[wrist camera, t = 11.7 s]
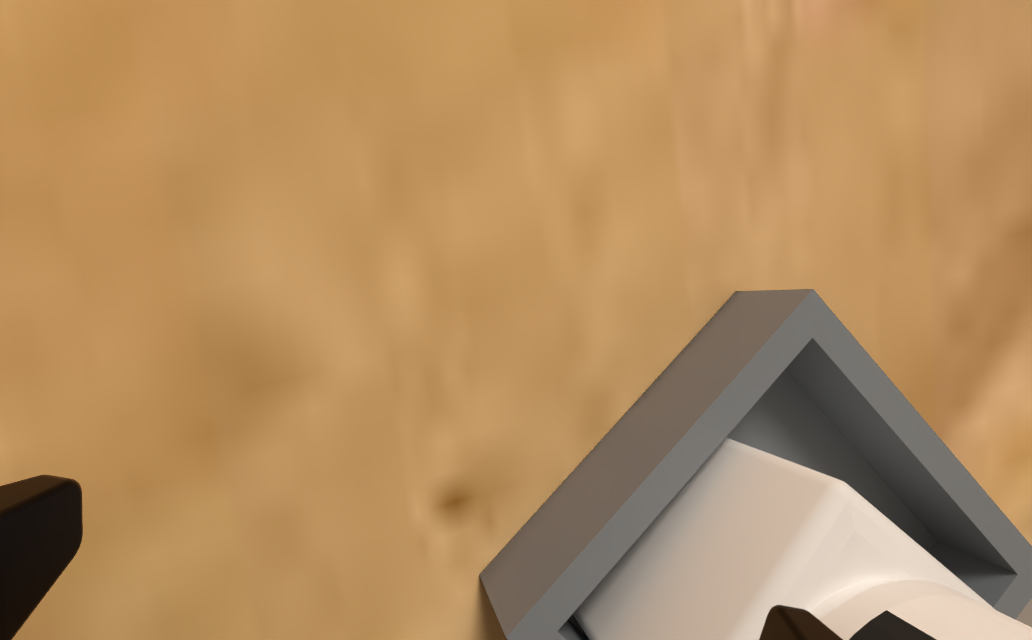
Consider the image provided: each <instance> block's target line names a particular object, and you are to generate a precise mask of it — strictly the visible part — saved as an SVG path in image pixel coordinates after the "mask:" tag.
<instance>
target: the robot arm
mask: <svg viewBox="0 0 1032 640" xmlns="http://www.w3.org/2000/svg"><path fill="white" fill-rule="evenodd" d="M82 535H83V525H82V490H81V486H80V484H79V483H78V482H77V481H75V480H73V479H69V478H63V477H57V476H52V475H40V476H36V477H32V478H29V479H25V480H21V481H18V482H14V483H10V484H7V485H3V486H0V640H12V638H13V637H14V636H15V634H16V633H17V632H18V631H19V629H20V628H21V627H22V625H23V624H24V623H25V621H26V620H27V619H28V617H29V616H30V615H31V613H32V612H33V611H34V609H35V608H36V607H37V605H38V604H39V603H40V601H41V600H42V599H43V597H44V596H45V595H46V593H47V592H48V591H49V589H50V588H51V587H52V585H53V584H54V583H55V581H56V580H57V579H58V577H59V576H60V575H61V574H62V572H63V571H64V570H65V568H66V567H67V566H68V564H69V563H70V562H71V560H72V559H73V558H74V556H75V555H76V553H77V551H78V549H79V547H80V544H81V541H82ZM759 640H843V639H842V638H840V637H839V636H838V635H837V634H836V633H834V632H833V631H832V630H831V629H829V628H828V627H827V626H826V625H825V624H823V623H822V622H821V621H820V620H819V619H817V618H816V617H815V616H814V615H812V614H811V613H810V612H809V611H807V610H804V609H801V608H795V607H789V606H783V605H775V606H773V607H772V608H771V609H770V610H769V613H768V615H767V617H766V620H765V623H764V626H763V629H762V632H761V635H760V638H759Z"/></svg>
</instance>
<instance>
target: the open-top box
mask: <svg viewBox="0 0 1032 640" xmlns="http://www.w3.org/2000/svg"><path fill="white" fill-rule="evenodd" d="M725 438H729V439H732V440H734V441H737V442H740V443H742V444H745V445H748V446H750V447H753V448H756V449H758V450H761V451H764V452H767V453H769V454H772V455H775V456H777V457H780V458H783V459H785V460H788V461H791V462H793V463H796V464H799V465H801V466H804V467H807V468H809V469H812V470H815V471H817V472H820V473H823V474H825V475H828V476H831V477H834V478H836V479H839V480H841V481H844V482H845V483H847V484H848V485H849V486H850V487H851V488H853V489H854V490H855V491H856V492H857V493H858V494H860V495H861V496H862V497H863V498H864V499H866V500H867V501H868V502H869V503H870V504H871V505H873V506H874V507H875V508H876V509H877V510H879V511H880V512H881V513H882V514H883V515H884V516H886V517H887V518H888V519H889V520H890V521H891V522H893V523H894V524H895V525H896V526H897V527H899V528H900V529H901V530H902V531H903V532H904V533H906V534H907V535H908V536H909V537H910V538H912V539H913V540H914V541H915V542H916V543H917V544H919V545H920V546H921V547H922V548H923V549H925V550H926V551H927V552H928V553H929V554H930V555H932V556H933V557H934V558H935V559H936V560H937V561H939V562H940V563H941V564H942V565H943V566H945V567H946V568H947V569H948V570H949V571H950V572H952V573H953V574H954V575H955V576H956V577H958V578H959V579H960V580H961V581H962V582H963V583H965V584H966V585H967V586H968V587H969V588H971V589H972V590H973V591H974V592H975V593H976V594H978V595H979V596H980V597H981V598H982V599H984V600H985V601H986V602H987V603H988V604H989V605H991V606H992V607H993V608H994V609H995V610H996V611H998V612H1001V613H1003V614H1005V615H1007V616H1009V617H1011V618H1013V619H1016V618H1017V617H1018V615H1019V614H1020V613H1021V611H1022V610H1023V609H1024V607H1025V606H1026V605H1027V603H1028V602H1029V601H1030V599H1031V598H1032V546H1031V545H1030V544H1029V543H1028V541H1027V540H1026V539H1025V538H1024V537H1023V536H1022V534H1021V533H1020V532H1019V531H1018V530H1017V528H1016V527H1015V526H1014V525H1013V524H1012V523H1011V521H1010V520H1009V519H1008V518H1007V517H1006V516H1005V514H1004V513H1003V512H1002V511H1001V510H1000V508H999V507H998V506H997V505H996V504H995V503H994V501H993V500H992V499H991V498H990V497H989V496H988V494H987V493H986V492H985V491H984V490H983V488H982V487H981V486H980V485H979V484H978V483H977V481H976V480H975V479H974V478H973V477H972V476H971V474H970V473H969V472H968V471H967V470H966V468H965V467H964V466H963V465H962V464H961V463H960V461H959V460H958V459H957V458H956V457H955V456H954V454H953V453H952V452H951V451H950V450H949V448H948V447H947V446H946V445H945V444H944V443H943V441H942V440H941V439H940V438H939V437H938V435H937V434H936V433H935V432H934V431H933V430H932V428H931V427H930V426H929V425H928V424H927V423H926V421H925V420H924V419H923V418H922V417H921V415H920V414H919V413H918V412H917V411H916V410H915V408H914V407H913V406H912V405H911V404H910V403H909V401H908V400H907V399H906V398H905V397H904V395H903V394H902V393H901V392H900V391H899V390H898V388H897V387H896V386H895V385H894V384H893V383H892V381H891V380H890V379H889V378H888V377H887V375H886V374H885V373H884V372H883V371H882V370H881V368H880V367H879V366H878V365H877V364H876V363H875V361H874V360H873V359H872V358H871V357H870V355H869V354H868V353H867V352H866V351H865V350H864V348H863V347H862V346H861V345H860V344H859V343H858V341H857V340H856V339H855V338H854V337H853V335H852V334H851V333H850V332H849V331H848V330H847V328H846V327H845V326H844V325H843V324H842V323H841V321H840V320H839V319H838V318H837V317H836V315H835V314H834V313H833V312H832V311H831V310H830V308H829V307H828V306H827V305H826V304H825V302H824V301H823V300H822V299H821V298H820V297H819V295H818V294H817V293H816V292H815V291H814V290H813V289H800V290H767V291H736V292H735V293H734V294H733V295H732V296H731V297H730V298H729V300H728V301H727V302H726V303H725V304H724V305H723V306H722V307H721V308H720V309H719V311H718V312H717V313H716V314H715V315H714V316H713V317H712V318H711V319H710V321H709V322H708V323H707V324H706V325H705V326H704V327H703V328H702V329H701V330H700V332H699V333H698V334H697V335H696V336H695V337H694V338H693V339H692V340H691V341H690V343H689V344H688V345H687V346H686V347H685V348H684V349H683V350H682V351H681V353H680V354H679V355H678V356H677V357H676V358H675V359H674V360H673V361H672V362H671V364H670V365H669V366H668V367H667V368H666V369H665V370H664V371H663V372H662V374H661V375H660V376H659V377H658V378H657V379H656V380H655V381H654V382H653V383H652V385H651V386H650V387H649V388H648V389H647V390H646V391H645V392H644V393H643V395H642V396H641V397H640V398H639V399H638V400H637V401H636V402H635V403H634V404H633V406H632V407H631V408H630V409H629V410H628V411H627V412H626V413H625V414H624V415H623V417H622V418H621V419H620V420H619V421H618V422H617V423H616V424H615V425H614V427H613V428H612V429H611V430H610V431H609V432H608V433H607V434H606V435H605V436H604V438H603V439H602V440H601V441H600V442H599V443H598V444H597V445H596V446H595V448H594V449H593V450H592V451H591V452H590V453H589V454H588V455H587V456H586V457H585V459H584V460H583V461H582V462H581V463H580V464H579V465H578V466H577V467H576V468H575V470H574V471H573V472H572V473H571V474H570V475H569V476H568V477H567V478H566V480H565V481H564V482H563V483H562V484H561V485H560V486H559V487H558V488H557V489H556V491H555V492H554V493H553V494H552V495H551V496H550V497H549V498H548V499H547V501H546V502H545V503H544V504H543V505H542V506H541V507H540V508H539V509H538V510H537V512H536V513H535V514H534V515H533V516H532V517H531V518H530V519H529V520H528V522H527V523H526V524H525V525H524V526H523V527H522V528H521V529H520V530H519V531H518V533H517V534H516V535H515V536H514V537H513V538H512V539H511V540H510V541H509V542H508V544H507V545H506V546H505V547H504V548H503V549H502V550H501V551H500V552H499V554H498V555H497V556H496V557H495V558H494V559H493V560H492V561H491V562H490V563H489V565H488V566H487V567H486V568H485V569H484V570H483V571H482V572H481V573H480V575H479V576H480V578H481V580H482V583H483V585H484V588H485V590H486V592H487V595H488V597H489V599H490V602H491V604H492V606H493V609H494V611H495V614H496V616H497V618H498V621H499V623H500V625H501V628H502V630H503V633H504V635H505V637H506V639H508V640H590V639H589V638H588V636H587V635H586V633H585V632H584V630H583V629H582V627H581V626H580V624H579V623H578V621H577V620H576V618H575V617H574V615H573V613H574V612H575V611H576V609H577V608H578V607H579V606H580V605H581V604H582V602H583V601H584V600H585V599H586V598H587V597H588V596H589V594H590V593H591V592H592V591H593V590H594V589H595V587H596V586H597V585H598V584H599V583H600V582H601V581H602V579H603V578H604V577H605V576H606V575H607V574H608V573H609V571H610V570H611V569H612V568H613V567H614V566H615V564H616V563H617V562H618V561H619V560H620V559H621V558H622V556H623V555H624V554H625V553H626V552H627V551H628V549H629V548H630V547H631V546H632V545H633V544H634V543H635V541H636V540H637V539H638V538H639V537H640V536H641V534H642V533H643V532H644V531H645V530H646V529H647V528H648V526H649V525H650V524H651V523H652V522H653V521H654V520H655V518H656V517H657V516H658V515H659V514H660V513H661V511H662V510H663V509H664V508H665V507H666V506H667V505H668V503H669V502H670V501H671V500H672V499H673V498H674V496H675V495H676V494H677V493H678V492H679V491H680V490H681V488H682V487H683V486H684V485H685V484H686V483H687V482H688V480H689V479H690V478H691V477H692V476H693V475H694V473H695V472H696V471H697V470H698V469H699V468H700V467H701V465H702V464H703V463H704V462H705V461H706V460H707V458H708V457H709V456H710V455H711V454H712V453H713V452H714V450H715V449H716V448H717V447H718V446H719V445H720V444H721V442H722V441H723V440H724V439H725Z"/></svg>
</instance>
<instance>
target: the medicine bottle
mask: <svg viewBox="0 0 1032 640" xmlns="http://www.w3.org/2000/svg"><path fill="white" fill-rule="evenodd" d="M775 605H783V606H789V607H795V608H801V609H804V610H807V611H809V612H810V613H811V614H812V615H814V616H815V617H816V618H817V619H819V620H820V621H821V622H822V623H823V624H825V625H826V626H827V627H828V628H829V629H831V630H832V631H833V632H834V633H836V634H837V635H838V636H839V637H840V638H842V639H843V640H1032V628H1031V627H1029V626H1027V625H1025V624H1023V623H1021V622H1019V621H1016V620H1015V619H1013V618H1011V617H1009V616H1007V615H1005V614H1003V613H1001V612H998V611H996V610H995V609H994V608H993V607H992V606H991V605H989V604H988V603H987V602H986V601H985V600H984V599H982V598H981V597H980V596H979V595H978V594H976V593H975V592H974V591H973V590H972V589H971V588H969V587H968V586H967V585H966V584H965V583H963V582H962V581H961V580H960V579H959V578H958V577H956V576H955V575H954V574H953V573H952V572H950V571H949V570H948V569H947V568H946V567H945V566H943V565H942V564H941V563H940V562H939V561H937V560H936V559H935V558H934V557H933V556H932V555H930V554H929V553H928V552H927V551H926V550H925V549H923V548H922V547H921V546H920V545H919V544H917V543H916V542H915V541H914V540H913V539H912V538H910V537H909V536H908V535H907V534H906V533H904V532H903V531H902V530H901V529H900V528H899V527H897V526H896V525H895V524H894V523H893V522H891V521H890V520H889V519H888V518H887V517H886V516H884V515H883V514H882V513H881V512H880V511H879V510H877V509H876V508H875V507H874V506H873V505H871V504H870V503H869V502H868V501H867V500H866V499H864V498H863V497H862V496H861V495H860V494H858V493H857V492H856V491H855V490H854V489H853V488H851V487H850V486H849V485H848V484H847V483H845V482H844V481H841V480H839V479H836V478H834V477H831V476H828V475H825V474H823V473H820V472H817V471H815V470H812V469H809V468H807V467H804V466H801V465H799V464H796V463H793V462H791V461H788V460H785V459H783V458H780V457H777V456H775V455H772V454H769V453H767V452H764V451H761V450H758V449H756V448H753V447H750V446H748V445H745V444H742V443H740V442H737V441H734V440H732V439H729V438H725V439H724V440H723V441H722V442H721V444H720V445H719V446H718V447H717V448H716V449H715V450H714V452H713V453H712V454H711V455H710V456H709V457H708V458H707V460H706V461H705V462H704V463H703V464H702V465H701V467H700V468H699V469H698V470H697V471H696V472H695V473H694V475H693V476H692V477H691V478H690V479H689V480H688V482H687V483H686V484H685V485H684V486H683V487H682V488H681V490H680V491H679V492H678V493H677V494H676V495H675V496H674V498H673V499H672V500H671V501H670V502H669V503H668V505H667V506H666V507H665V508H664V509H663V510H662V511H661V513H660V514H659V515H658V516H657V517H656V518H655V520H654V521H653V522H652V523H651V524H650V525H649V526H648V528H647V529H646V530H645V531H644V532H643V533H642V534H641V536H640V537H639V538H638V539H637V540H636V541H635V543H634V544H633V545H632V546H631V547H630V548H629V549H628V551H627V552H626V553H625V554H624V555H623V556H622V558H621V559H620V560H619V561H618V562H617V563H616V564H615V566H614V567H613V568H612V569H611V570H610V571H609V573H608V574H607V575H606V576H605V577H604V578H603V579H602V581H601V582H600V583H599V584H598V585H597V586H596V587H595V589H594V590H593V591H592V592H591V593H590V594H589V596H588V597H587V598H586V599H585V600H584V601H583V602H582V604H581V605H580V606H579V607H578V608H577V609H576V611H575V612H574V613H573V615H574V617H575V618H576V620H577V621H578V623H579V624H580V626H581V627H582V629H583V630H584V632H585V633H586V635H587V636H588V638H589V639H590V640H759V638H760V635H761V632H762V629H763V626H764V623H765V620H766V617H767V615H768V613H769V610H770V609H771V608H772V607H773V606H775Z"/></svg>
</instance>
